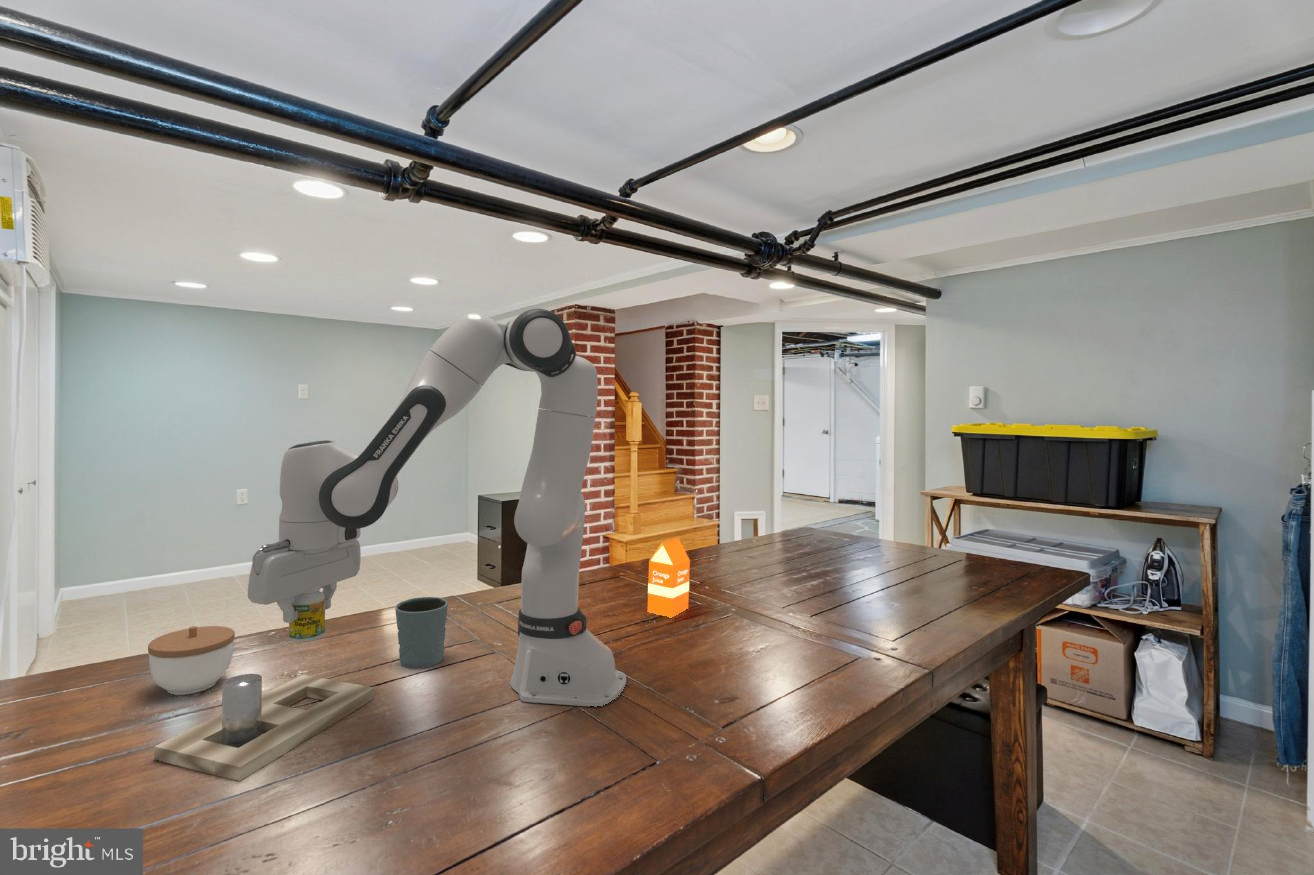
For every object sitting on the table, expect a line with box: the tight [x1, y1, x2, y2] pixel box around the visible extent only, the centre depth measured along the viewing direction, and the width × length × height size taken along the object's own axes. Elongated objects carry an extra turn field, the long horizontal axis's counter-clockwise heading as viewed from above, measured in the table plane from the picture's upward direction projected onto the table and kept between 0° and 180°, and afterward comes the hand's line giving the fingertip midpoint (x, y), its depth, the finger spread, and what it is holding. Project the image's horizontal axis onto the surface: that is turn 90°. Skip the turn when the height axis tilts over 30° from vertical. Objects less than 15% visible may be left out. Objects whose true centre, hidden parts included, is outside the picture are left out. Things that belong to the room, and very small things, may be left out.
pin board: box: [153, 674, 375, 782], centre depth 98 cm, size 16×26×2 cm, turn 165°
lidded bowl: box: [147, 625, 236, 696], centre depth 111 cm, size 13×13×11 cm
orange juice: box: [647, 537, 691, 618], centre depth 161 cm, size 8×9×20 cm
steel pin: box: [221, 673, 263, 748], centre depth 92 cm, size 5×5×10 cm
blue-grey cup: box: [394, 596, 449, 670], centre depth 126 cm, size 10×10×12 cm
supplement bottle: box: [288, 583, 326, 643], centre depth 103 cm, size 5×5×10 cm
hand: (307, 615), depth 103 cm, fingers closed on supplement bottle, 5 cm apart
